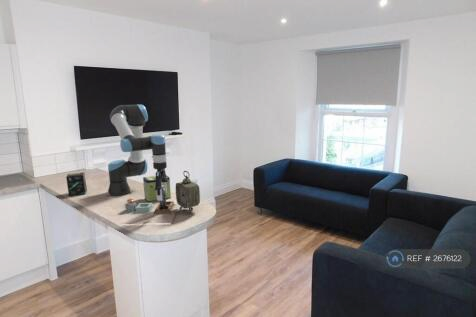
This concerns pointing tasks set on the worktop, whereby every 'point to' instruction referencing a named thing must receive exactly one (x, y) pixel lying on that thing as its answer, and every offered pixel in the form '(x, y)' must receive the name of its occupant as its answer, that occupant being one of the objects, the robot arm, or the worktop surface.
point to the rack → (169, 208)
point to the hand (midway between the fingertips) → (162, 196)
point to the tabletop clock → (187, 193)
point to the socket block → (139, 208)
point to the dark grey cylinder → (163, 199)
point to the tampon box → (76, 184)
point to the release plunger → (130, 201)
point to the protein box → (150, 188)
